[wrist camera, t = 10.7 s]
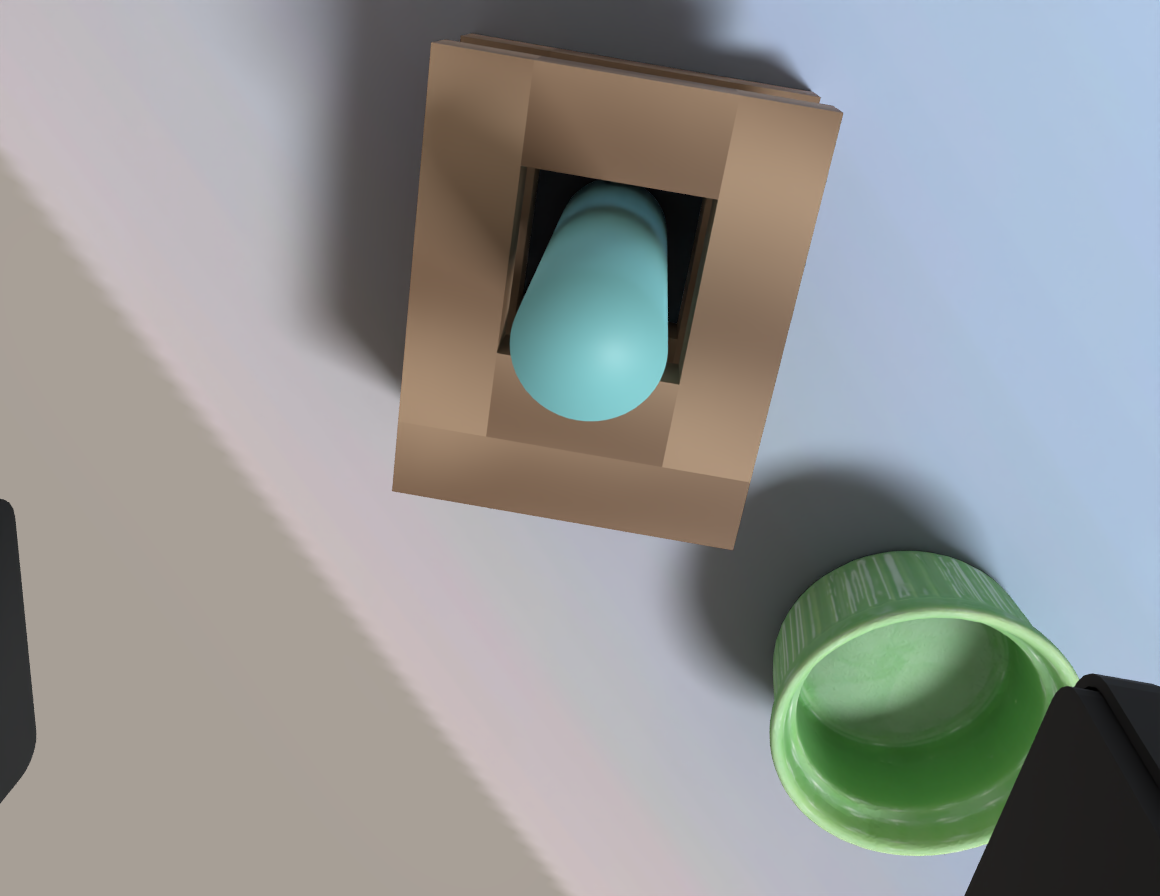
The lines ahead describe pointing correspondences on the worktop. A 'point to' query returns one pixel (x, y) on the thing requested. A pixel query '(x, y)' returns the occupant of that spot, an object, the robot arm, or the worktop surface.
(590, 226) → the peg
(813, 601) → the ramekin
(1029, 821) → the robot arm
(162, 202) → the worktop surface
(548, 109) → the block
